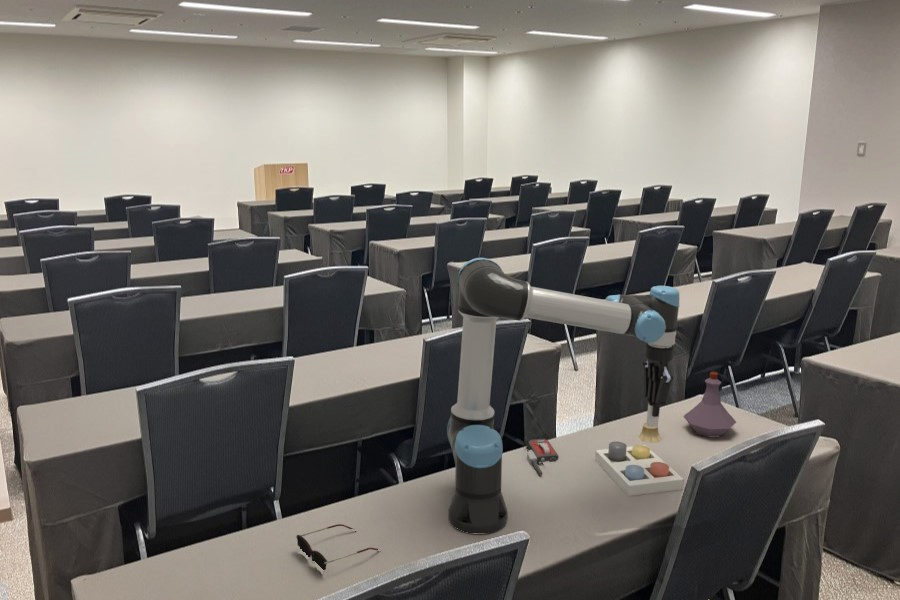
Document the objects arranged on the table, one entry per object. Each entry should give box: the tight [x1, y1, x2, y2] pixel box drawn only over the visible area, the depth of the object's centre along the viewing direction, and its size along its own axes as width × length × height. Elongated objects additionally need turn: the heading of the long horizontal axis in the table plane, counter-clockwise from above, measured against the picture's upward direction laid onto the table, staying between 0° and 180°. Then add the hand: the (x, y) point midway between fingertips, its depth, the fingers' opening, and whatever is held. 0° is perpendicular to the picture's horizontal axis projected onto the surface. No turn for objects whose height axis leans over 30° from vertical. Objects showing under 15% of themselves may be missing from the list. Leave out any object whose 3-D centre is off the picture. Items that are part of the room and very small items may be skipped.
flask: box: [683, 371, 737, 437], centre depth 243 cm, size 16×16×20 cm
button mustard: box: [632, 444, 651, 460], centre depth 221 cm, size 5×5×4 cm
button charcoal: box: [608, 441, 628, 462], centre depth 218 cm, size 5×5×4 cm
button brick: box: [650, 462, 670, 478], centre depth 210 cm, size 5×5×4 cm
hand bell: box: [637, 422, 662, 444], centre depth 237 cm, size 8×8×16 cm
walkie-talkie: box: [525, 438, 559, 476], centre depth 225 cm, size 9×4×20 cm
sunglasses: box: [296, 523, 379, 571], centre depth 179 cm, size 14×16×5 cm
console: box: [594, 444, 684, 497], centre depth 215 cm, size 16×22×4 cm
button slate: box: [625, 465, 644, 481], centre depth 208 cm, size 5×5×4 cm
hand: (652, 425), depth 208 cm, fingers closed
